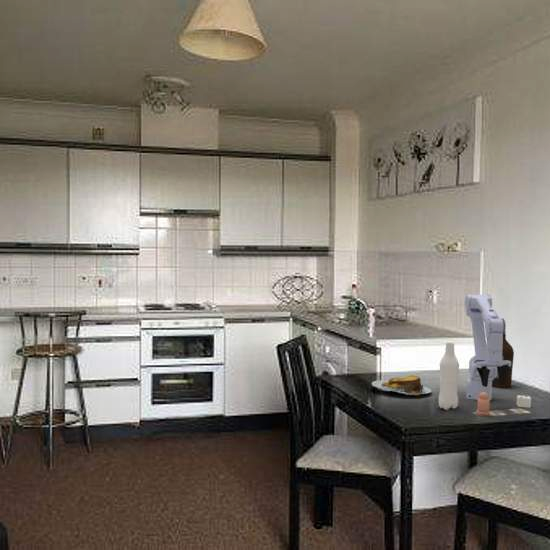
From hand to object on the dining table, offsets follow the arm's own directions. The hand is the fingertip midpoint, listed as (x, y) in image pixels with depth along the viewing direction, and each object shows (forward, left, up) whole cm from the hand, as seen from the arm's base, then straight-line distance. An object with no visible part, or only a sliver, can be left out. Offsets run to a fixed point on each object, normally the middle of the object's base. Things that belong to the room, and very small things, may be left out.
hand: (493, 385), depth 231 cm
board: (+4, -6, -9) cm, 12 cm away
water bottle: (-15, -7, -10) cm, 19 cm away
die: (+10, +10, -10) cm, 17 cm away
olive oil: (-4, +47, -10) cm, 48 cm away
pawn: (-1, -12, -8) cm, 14 cm away
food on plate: (-39, +11, -10) cm, 42 cm away
